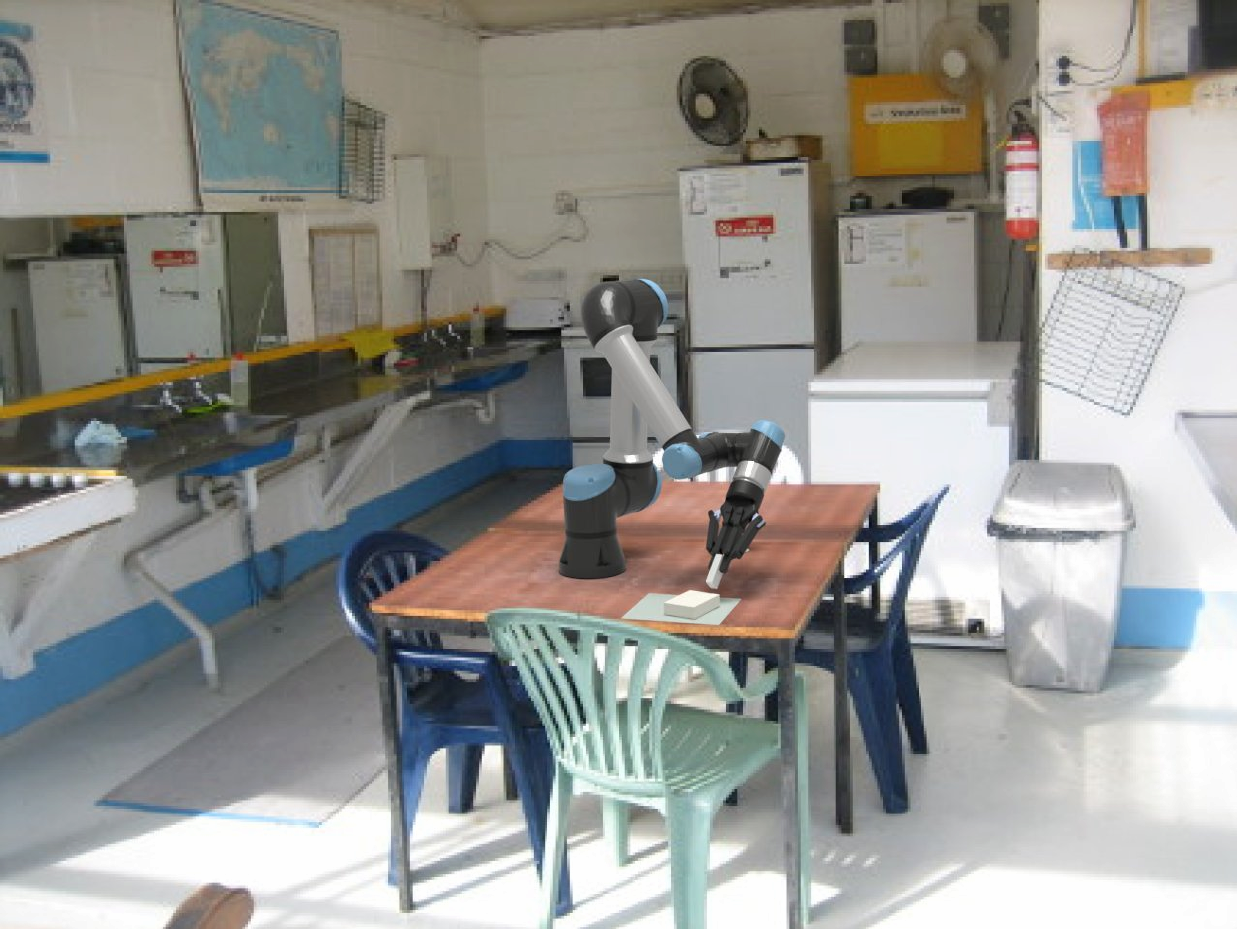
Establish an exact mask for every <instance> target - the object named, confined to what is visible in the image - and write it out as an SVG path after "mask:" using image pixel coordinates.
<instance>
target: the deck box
mask: <svg viewBox="0 0 1237 929" xmlns="http://www.w3.org/2000/svg"><path fill="white" fill-rule="evenodd" d="M678 595H679V596H677V597H674V598H672V599H670V600H668V601H666V602H664V614H665V615H671V616H677V617H683V618H690V619H696V618H698V617H700V616H702V615H703V614H705V613H707V612H709V611H711V610H713V609H715V608H717V607H719V606H720V598H721V597H720V596H721V595H720V594H718V593H713V592H712V593H711V592H705V591H698V590H691V589H689V590H687V591H685V592H682V593H681V594H678Z"/></svg>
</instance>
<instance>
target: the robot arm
mask: <svg viewBox="0 0 1237 929" xmlns="http://www.w3.org/2000/svg"><path fill="white" fill-rule="evenodd" d="M668 313H669V304H668V300H667V297H666V294H665V292H664V291H663V289H662V288H660V286H659V285H658V284H657V283H656V282H654V281H653V280H650V279H645V278H629V279H628V278H627V279H620V280H614V281H613V280H611V281H602V282H599V283H597V284H594V285H593V286H592V287H591V288H590V289H588V291H587V292H586V293H585V295H584V297H583V300H582V302H581V307H580V319H581V320H580V321H581V325H582V327H583V330H584V333H585V336H586V338H587V339H588V341H589V343H590V344H591V346H592V347H593V349H594V351H595V352H596V353H599V354H602V355H603V356H604V359H606V361H607V362H608V365H609V366H610V367H611V388H610V389H611V391H610V392H611V395H610V426H609V427H610V428H609V429H610V431H609V432H610V433H609V434H610V435H609V436H610V439H609V448H608V450H607V451H606V452H605V453H604V454H603V457H602V463H592V464H588V465H580V466H577V467H574V468H572V469H570V470H568V471H567V472H566V473H565V474H564V476H563V480H562V481H563V484H562V487H563V488H562V497H563V498H562V499H563V511H564V512H563V513H564V516H563V518H564V528H565V529H564V530H565V531H564V533H565V540H564V542H563V546H562V550H561V554H560V557H559V560H558V568H559V569H558V570H559V573H560V574H561V575H563V576H566V577H568V578H574V579H575V578H576V579H600V578H608V577H612V576H613V577H614V576H617V575H619V574H622V573H623V572H625V570H626V569H627V563H626V561H627V560H626V557H625V554H624V551H623V548H622V546H621V543H620V541H619V538H618V532H617V530H618V529H617V519H619V518H621V517H625V516H627V515H628V516H629V515H630V514H634V513H635V514H636V513H638V512H639V513H640V512H642V511H644V510H646V508H647V509H648V508H649V507H651V506H652V505H653V504H654V503H655V502H657V500H658V498H659V497H660V494H661V491H662V486H663V484H662V483H663V480H662V479H663V478H662V475H661V472H660V471H659V470H658V467H657V465H656V464H655V463H654V456H653V455H652V454H651V452H650V451H648V428H649V429H650V431H651V432H652V434H653V436H654V437H655V439H656V441H657V442H658V443H659V445H660V447H661V448H662V450H663V453H662V456H661V462H662V468H663V470H664V472H665V473H666V475H668V477H670V478H672V479H674V480H679V481H680V480H687V479H692V478H696V477H698V476H700V475H703V474H707V473H710V472H714V471H716V470H720V469H724V468H736V469H735V470H734V474H733V476H732V478H731V482H730V484H729V486H728V490H727V492H726V495H725V499H724V500H725V502H724V501H723V504H721V506H720V508H719V509H717V510H716V511H714V510H713V509H711V510H708V512H707V515H708V518H709V521H708V522H709V523H708V529H707V536H706V538H707V539H706V543H705V544H706V545H705V550H706V551H707V552H708V554H709V555H710V556H711V558H710V560H709V562H708V565H707V568H708V570H709V572H708V575H707V577H706V578H705V579H706V580H705V583H706V584H707V585H708V586H709V587H710V589H714V590H718V588H719V586H720V582H721V581H722V580H721V579H722V577H723V574H727V572H728V571H729V567H730V565H731V562H732V561H733V560H736V559H737V560H741V559H742V558H743V556H744V555H745V553H746V550H747V548H748V549H749V546H750V545H751V544H752V543H753V541H754V539H755V537H756V536H757V534H758V533H759V532H760V530H761V529H762V528H763V527H765V525H767V522H766V521H765V519H764V518H763V516H762V515H761V514H759V512H760V511H759V510H760V509H761V505H762V504H763V503H762V502H763V501H764V497H765V493H766V491H767V489H768V486H769V485H770V484H769V483H770V480H771V478H772V475H773V471H774V469H775V466H776V465H777V462H778V459H779V457H780V455H781V453H782V450H783V449H782V448H783V445H784V443H785V442H784V441H785V438H786V433H785V432H784V430H783V429H782V427H781V426H780V425H779V424H777V423H775V422H772V421H769V420H764V419H763V420H758V421H756V422H754V423H753V425H752V427H751V428H750V431H744V432H743V431H741V432H719V431H712V432H703V433H701V434H700V435H698V436H697V435H696V433H695V431H694V430H693V429H692V427H691V425H690V424H689V422H688V420H687V419H686V417H685V416H684V414H683V412H682V411H681V410H680V408H679V406H678V405H677V403H676V402H675V400H674V399H673V397H672V395H671V394H670V392H669V390H668V389H667V388H666V386H665V384H664V382H663V381H662V380H661V378H660V376H659V375H658V373H657V372H656V370H655V369H654V367H653V366H652V365H653V364H652V363H651V347H652V346H653V345H654V344H655V343H656V342H657V341H658V329H659V328H660V327H661V326H662V325H663V323H664V322H665V321H666V320H667V317H668V315H669V314H668ZM721 517H722V521H721ZM720 522H721V528H720ZM719 530H720V531H719Z"/></svg>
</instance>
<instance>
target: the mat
mask: <svg viewBox="0 0 1237 929" xmlns="http://www.w3.org/2000/svg"><path fill="white" fill-rule="evenodd" d="M679 595H680V594H669V593H655V592H654V593H651V592H648V593H647V594H646V595H645V596H644V597H643V598H642V599H641V600H639V601H638V603H636V604H635V605H634V606H633V607H632V608H630V610H628V611H627V612H626V613H625V614H624V615H623V616H621V617H620V618H621V619H622V620H624V619H625V620H634V621H635V620H636V621H637V620H638V621H652V622H653V621H654V622H664V623H665V622H666V623H680V624H681V623H683V624H696V625H697V624H698V625H711V626H720V624H721V623H722V622H723V621H724V620H725V619H726V618H727V616H729V614H730V613H731V612H732V610H733V609H735V607H736V606H737V605H738V604H739V603H740V602H741V601H742V598H736V597H735V598H731V597H720V606H719V607H717V608H715V609H713V610H711V611H709V612H707V613H705V614H703V615H702V616H700V617H698V618H696V619H690V618H683V617H677V616H671V615H665V614H664V602H666V601H668V600H670V599H672V598H674V597H677V596H679Z"/></svg>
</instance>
